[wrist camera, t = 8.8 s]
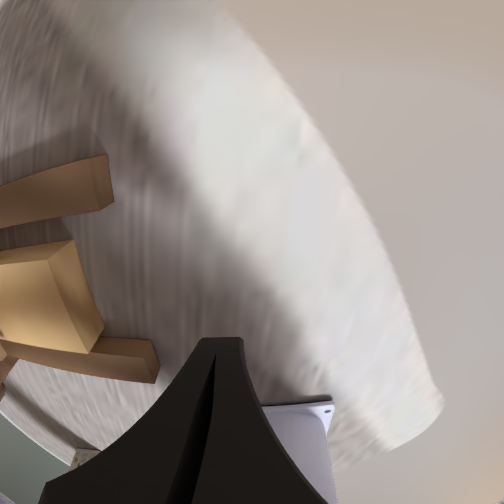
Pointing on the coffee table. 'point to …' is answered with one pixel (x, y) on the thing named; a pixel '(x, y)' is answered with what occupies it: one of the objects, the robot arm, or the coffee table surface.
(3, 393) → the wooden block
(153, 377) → the walnut dock
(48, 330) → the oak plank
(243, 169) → the coffee table surface
